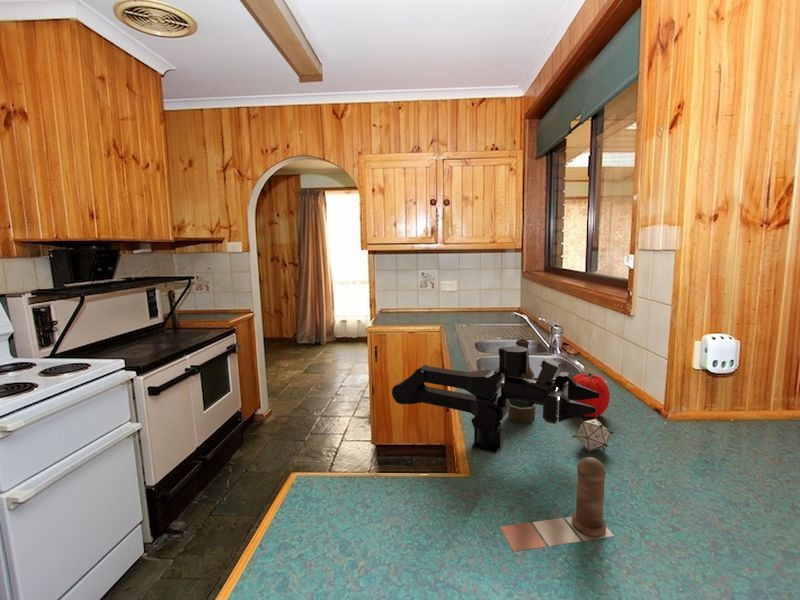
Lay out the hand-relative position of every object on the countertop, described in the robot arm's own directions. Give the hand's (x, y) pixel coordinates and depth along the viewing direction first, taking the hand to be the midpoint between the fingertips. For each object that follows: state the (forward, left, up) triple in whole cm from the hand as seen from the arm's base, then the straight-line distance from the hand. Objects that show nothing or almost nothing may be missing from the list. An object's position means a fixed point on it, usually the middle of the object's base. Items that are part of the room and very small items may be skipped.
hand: (597, 402), depth 90 cm
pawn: (+1, -22, -15) cm, 27 cm away
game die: (-1, +10, -17) cm, 20 cm away
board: (-4, -26, -17) cm, 31 cm away
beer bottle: (-21, +20, -17) cm, 34 cm away
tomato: (-4, +31, -17) cm, 36 cm away
